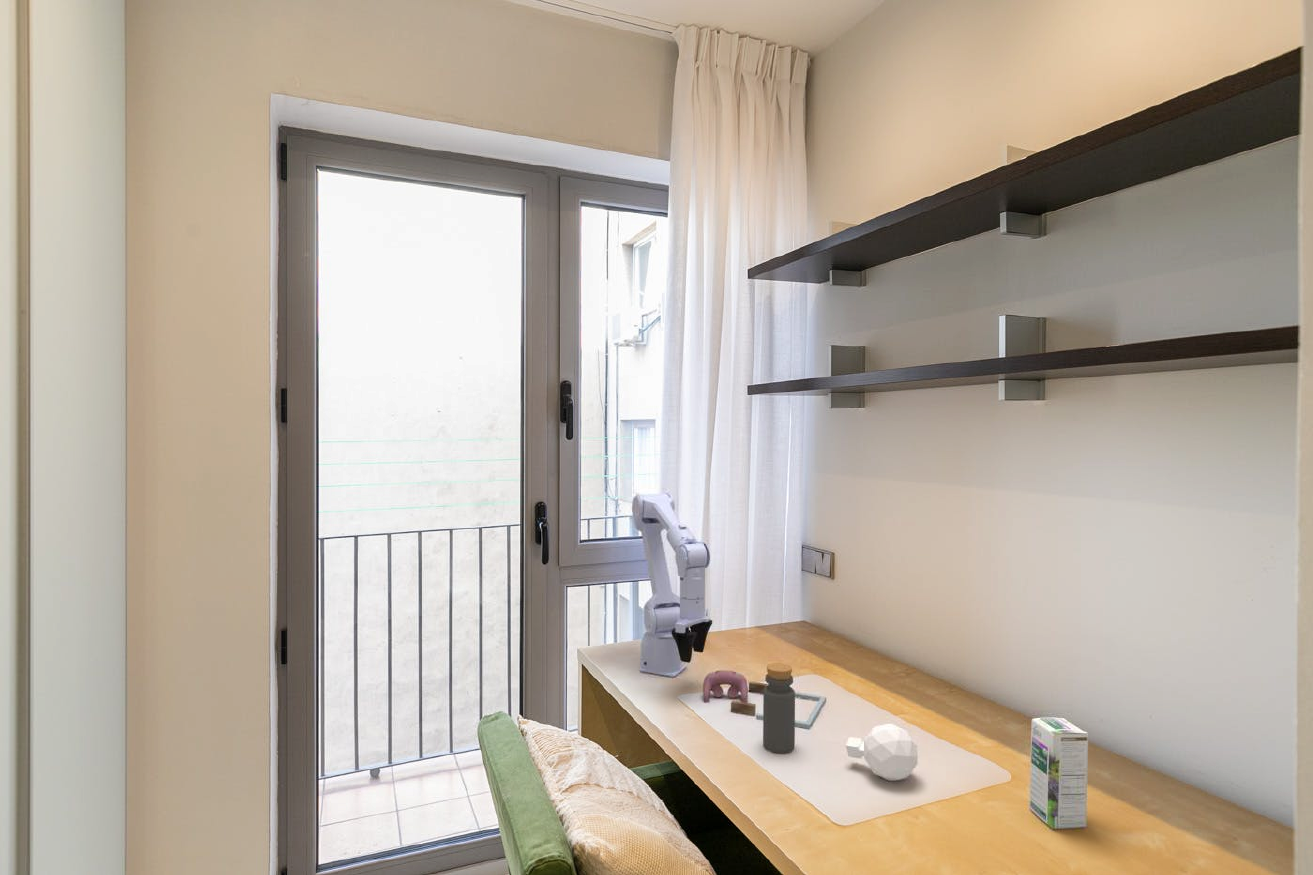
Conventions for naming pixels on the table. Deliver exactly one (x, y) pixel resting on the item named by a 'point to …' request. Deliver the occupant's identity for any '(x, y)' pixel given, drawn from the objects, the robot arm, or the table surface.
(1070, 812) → the syrup box
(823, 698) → the frame
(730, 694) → the video game controller
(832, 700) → the table surface
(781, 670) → the bottle
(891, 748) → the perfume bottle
